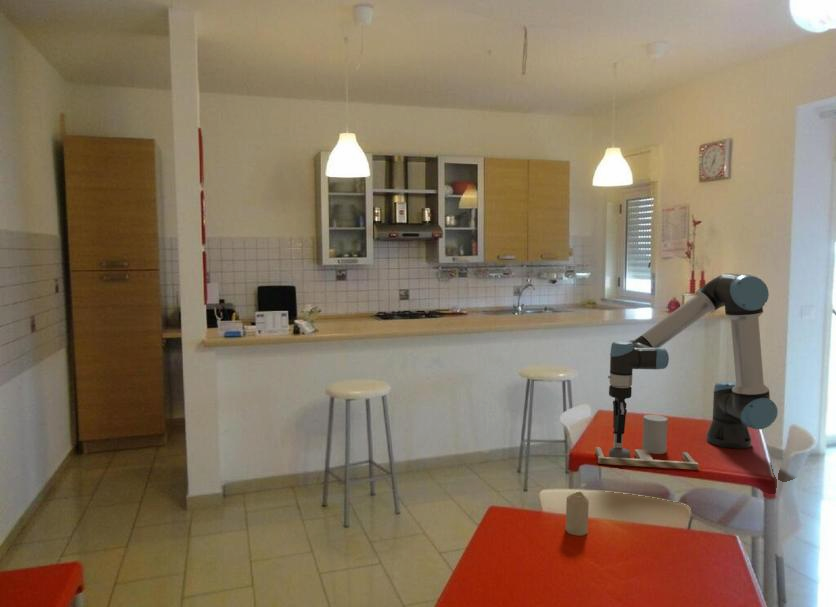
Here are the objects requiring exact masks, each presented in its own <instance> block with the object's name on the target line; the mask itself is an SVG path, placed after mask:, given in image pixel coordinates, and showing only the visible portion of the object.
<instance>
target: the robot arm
mask: <svg viewBox="0 0 836 607" xmlns="http://www.w3.org/2000/svg"><path fill="white" fill-rule="evenodd" d="M769 294H770V293H769V289H768V286H767V284H766V283H765V282H764V280H762V279H761V278H759V277H758V276H754V275H751V274H742V273H741V274H739V273H723V274H720V275H718V276H716V277H715V278H713V279H711V280H710V281H708V282H707V283H705V284H704V285H702V286H701V287H700V288H699V289H697V290H696V291H695V292H694V296H692V297H691V298H690V299H688V301H686V302H685V303H683V304H682V305H681V306H679V307H677V308H676V309H675V310H674V311H673V312H671V313H670V314H668V315H667V316H666V317H664V318H663V319H661V320H660V321H659V322H658V323H656V324H655V325H653V326H652V327H650V328H649V329H648V330H647V331H645V332H644V333H642V334H641V335H639V336H638V337H637V338H635V339H631V340H630V339H629V340H628V341H624V340H619V341H618V340H617V341H616V340H615V341H613V342H612V343H611V345H610V353H609V355H610V358H609V360H610V362H609V366H610V367H609V375H608V376H607V378H608V379H609V386H608V395H609V397H611V398H614V400H613V401H612V405H613V406H612V409H613V412H612V414H613V418H612V419H613V424H612V428H613V432H612V433H613V448H623V442H624V441H623V440H624V434H625V427H626V418H627V417H626V416H627V412H628V411H627V402H626V399H630V398H632V393H633V392H632V390H633V389H632V385H633V370H655V371H657V370H665V369H667V367H668V365H669V359H670V356H669V353H668V351H667V349H665V348H663V347H662V346H664V345H666V344H667V343H668V342H669V341H671V340H672V339H673V338H675V337H676V336H678V335H679V334H681V333H682V332H684V330H686V329H687V328H688V327H690V326H691V325H693V324H694V323H695V322H697V321H699V320H700V319H701V318H702V317H704V316H705V315H707V314H708V313H710V312H711V313H714V312H716V310H719V309H721V308H723V307H724V312H725V315H726V316H727V317H728V318H729V319H730V325H731V326H730V328H731V337H732V338H731V340H732V350H733V362H734V363H733V364H734V375H735V382H734V381H729V382H728V381H719V382H717V383H715V384H714V388H713V400H712V418H711V419H712V420H711V422H710V425H709V427H708V429H707V432H706V435H705V436H706V438H705V440H706V441H707V442H708V443H710V444H712V445H714V446H718V447H722V448H727V449H737V450H739V449H749V448H750V447H752V437H751V435H750V430H749V428H751V429H753V430H763V429H766V428H768V427H770V426H772V424H773V423H775V421H776V420H777V417H778V406H777V404H776V403H775V402H774V401H773V400H772V399H771V395H770V388H769V387H768V386H766V385H765V383H764V373H763V369H764V368H763V358H762V357H763V356H762V346H761V345H762V344H761V343H762V342H761V332H760V323H759V321H760V319H759V317H760V316H762V314H763V313H764V306H765V305H766V303H767V302H768V300H769V296H770V295H769Z"/></svg>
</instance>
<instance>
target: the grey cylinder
mask: <svg viewBox="0 0 836 607" xmlns="http://www.w3.org/2000/svg"><path fill="white" fill-rule="evenodd" d="M668 422H669V421H668V417H666V416H663V415H659V414H645V415H643V421H642V442H641V443H642V444H641V445H642V446H641V450H647V451H648V453H649V454H653V455H663V454H665V453H666V452H667V443H668V442H667V438H668Z"/></svg>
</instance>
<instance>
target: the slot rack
mask: <svg viewBox="0 0 836 607" xmlns="http://www.w3.org/2000/svg"><path fill="white" fill-rule="evenodd" d="M595 454H596V457H597V463H598V464H601V465H616V466H617V465H618V466H628V467H630V466H631V467H645V468H646V467H648V468H662V469H663V468H664V469H679V470H680V469H681V470H695V471H698V470H699V463H698V462H696V461H695V460H694V459H693V457H692V456H691V455H690V454H689V453H688V452H687V451H682V454H681V455H682V456H681V458H682V460H684V461H681V460H680V461H679V460H664V459H663V460H662V459H653V457H652V456H651V453H649V452H648V451H647V450H642V449H639V448H638V449H636V448H635V449H634V456H635V457H636V458H633V457H632V458H631V457H630V458H616V457H609V456H605V455H604V453H603V450H602V448H601V447H600V446H595Z"/></svg>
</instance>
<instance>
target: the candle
mask: <svg viewBox="0 0 836 607" xmlns="http://www.w3.org/2000/svg"><path fill="white" fill-rule="evenodd" d="M589 501H590V500H589V499H588V498H587V496H586V495H585V494H584V493H583V492H582V491H577V492H575V493H570V494H569V495H568V496H566V503H565V504H566V505H565V506H566V507H565V508H566V509H565V511H566V512H565V531H566V532H567V533H568V534H570V535H573V536H582V537H583V536H585V535H587V534H588V530H589V529H588V528H589Z"/></svg>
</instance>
